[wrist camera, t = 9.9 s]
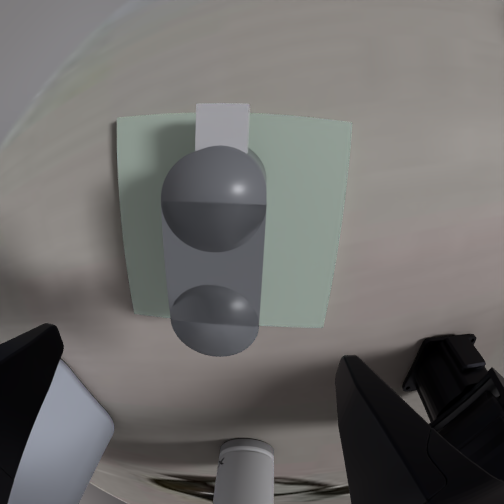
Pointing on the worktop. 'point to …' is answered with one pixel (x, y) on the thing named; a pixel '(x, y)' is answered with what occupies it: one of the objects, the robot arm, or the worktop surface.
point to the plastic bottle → (62, 444)
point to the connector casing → (215, 234)
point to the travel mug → (245, 473)
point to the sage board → (277, 211)
